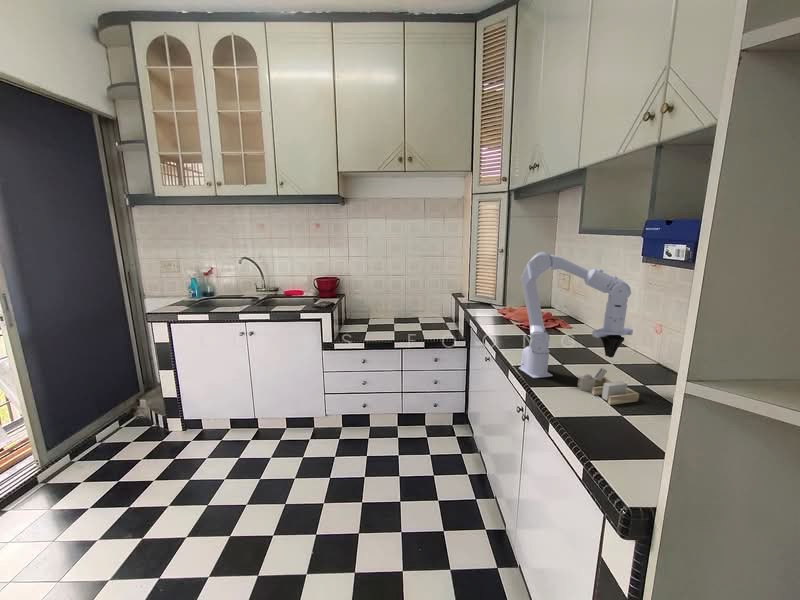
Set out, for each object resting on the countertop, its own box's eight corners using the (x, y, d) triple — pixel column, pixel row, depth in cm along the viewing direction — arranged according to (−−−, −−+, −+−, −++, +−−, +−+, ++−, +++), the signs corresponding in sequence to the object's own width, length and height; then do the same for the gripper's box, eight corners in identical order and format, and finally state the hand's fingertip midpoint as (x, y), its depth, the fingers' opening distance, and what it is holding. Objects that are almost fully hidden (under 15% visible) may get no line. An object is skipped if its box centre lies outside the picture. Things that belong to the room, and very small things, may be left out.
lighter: (580, 390, 114) (583, 367, 113) (579, 388, 116) (582, 365, 114) (604, 392, 113) (607, 369, 111) (602, 390, 115) (605, 367, 113)
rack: (577, 386, 117) (578, 379, 117) (603, 383, 120) (604, 376, 120) (609, 405, 105) (610, 397, 104) (637, 401, 108) (639, 393, 107)
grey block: (601, 397, 109) (603, 383, 108) (619, 395, 111) (621, 381, 110) (606, 401, 108) (609, 386, 107) (624, 398, 109) (627, 383, 108)
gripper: (606, 321, 108) (601, 362, 111) (643, 319, 112) (637, 358, 114) (589, 315, 115) (584, 354, 117) (624, 313, 118) (618, 351, 121)
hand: (609, 356), depth 116 cm, fingers closed
